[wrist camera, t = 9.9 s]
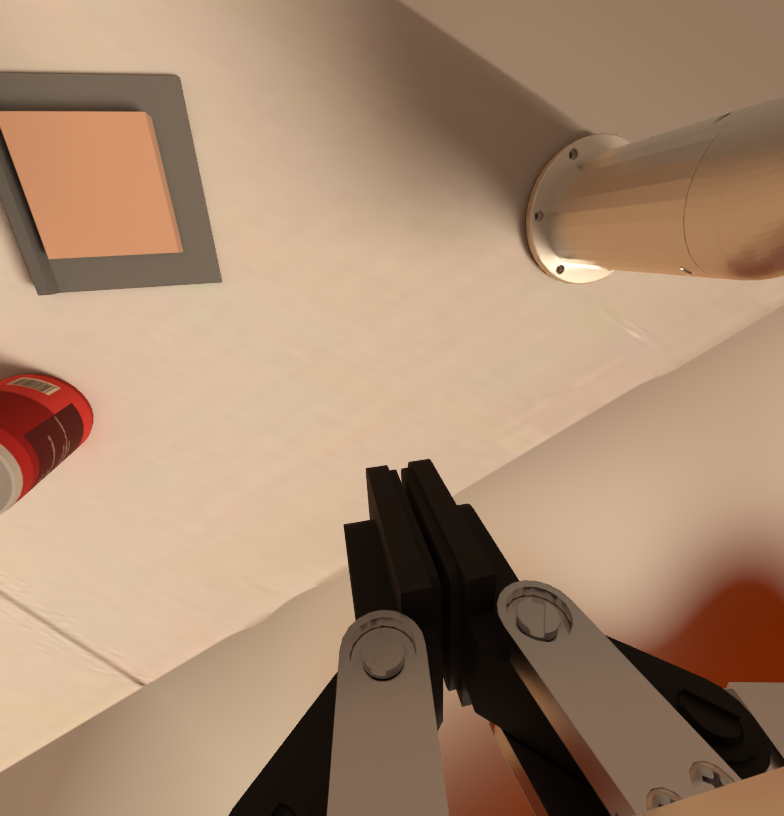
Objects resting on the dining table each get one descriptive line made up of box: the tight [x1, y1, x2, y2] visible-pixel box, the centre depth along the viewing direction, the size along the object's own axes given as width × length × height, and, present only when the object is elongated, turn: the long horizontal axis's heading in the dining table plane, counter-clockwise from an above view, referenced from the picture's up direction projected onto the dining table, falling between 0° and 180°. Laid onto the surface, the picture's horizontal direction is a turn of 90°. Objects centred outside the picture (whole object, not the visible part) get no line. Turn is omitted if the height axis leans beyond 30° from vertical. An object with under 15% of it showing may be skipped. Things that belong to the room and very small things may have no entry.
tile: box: [0, 111, 183, 259], centre depth 29 cm, size 2×9×9 cm
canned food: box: [0, 375, 93, 515], centre depth 30 cm, size 8×8×11 cm
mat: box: [0, 73, 222, 295], centre depth 29 cm, size 13×14×2 cm
